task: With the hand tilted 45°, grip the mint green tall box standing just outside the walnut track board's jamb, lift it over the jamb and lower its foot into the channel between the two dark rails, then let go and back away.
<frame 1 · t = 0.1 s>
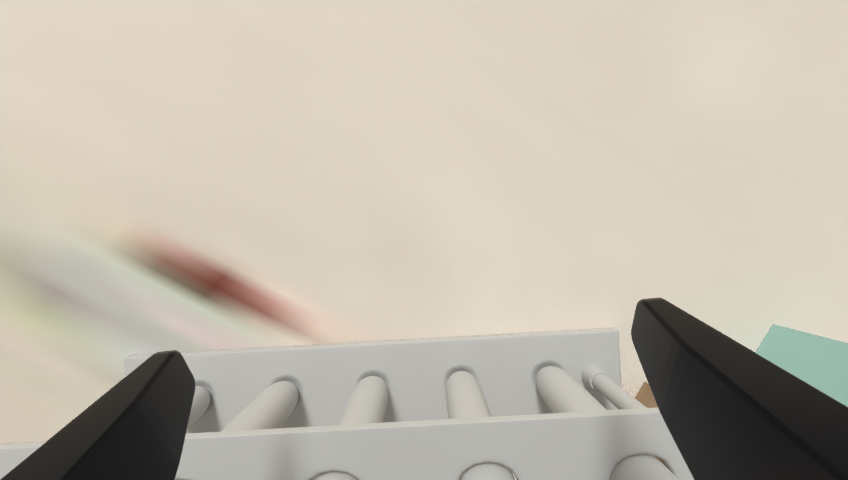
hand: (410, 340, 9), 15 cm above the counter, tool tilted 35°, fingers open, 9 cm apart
mint green tall box: (777, 382, 24), on the counter
test tube rack: (375, 381, 25), on the counter
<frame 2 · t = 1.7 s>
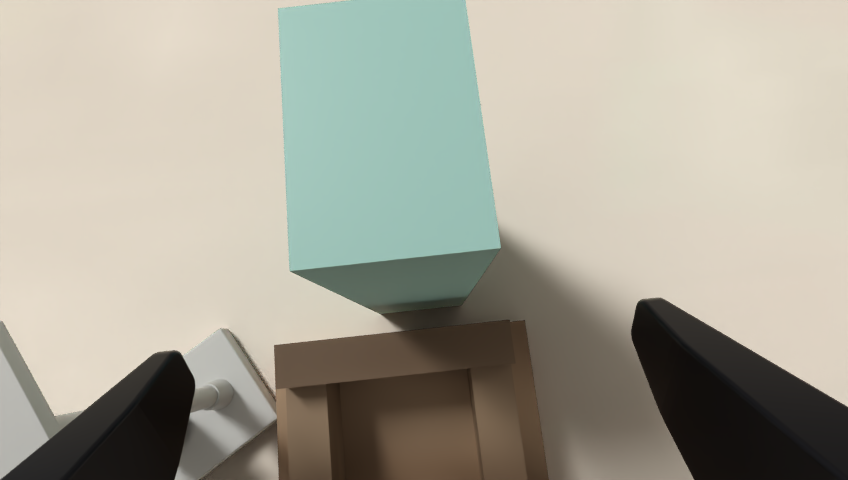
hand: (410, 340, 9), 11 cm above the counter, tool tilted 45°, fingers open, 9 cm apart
mint green tall box: (414, 252, 20), on the counter
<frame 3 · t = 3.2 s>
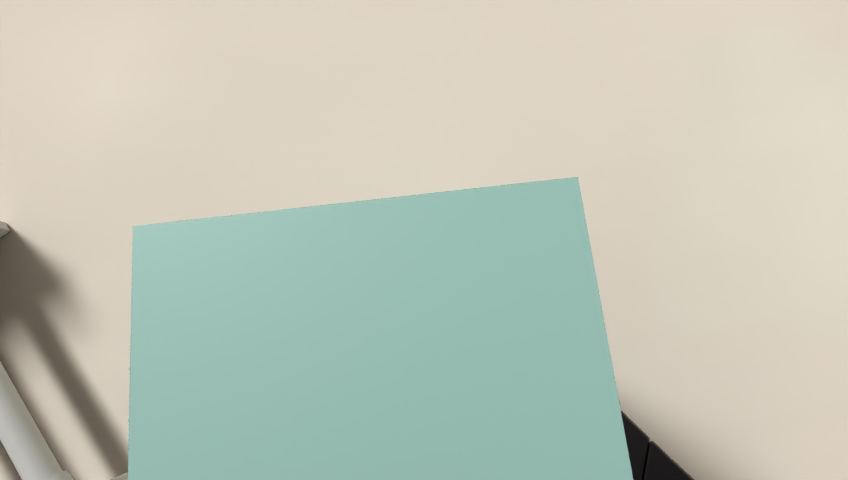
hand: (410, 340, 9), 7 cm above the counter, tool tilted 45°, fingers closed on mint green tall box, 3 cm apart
mint green tall box: (425, 381, 15), on the counter, touching gripper
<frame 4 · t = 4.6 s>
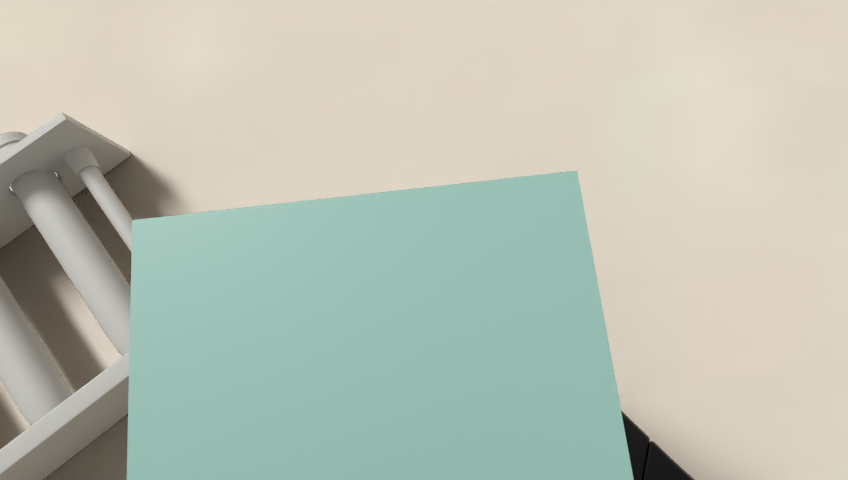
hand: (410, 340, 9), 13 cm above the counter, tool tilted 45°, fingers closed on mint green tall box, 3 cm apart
mint green tall box: (425, 379, 15), point 6 cm above the counter, touching gripper
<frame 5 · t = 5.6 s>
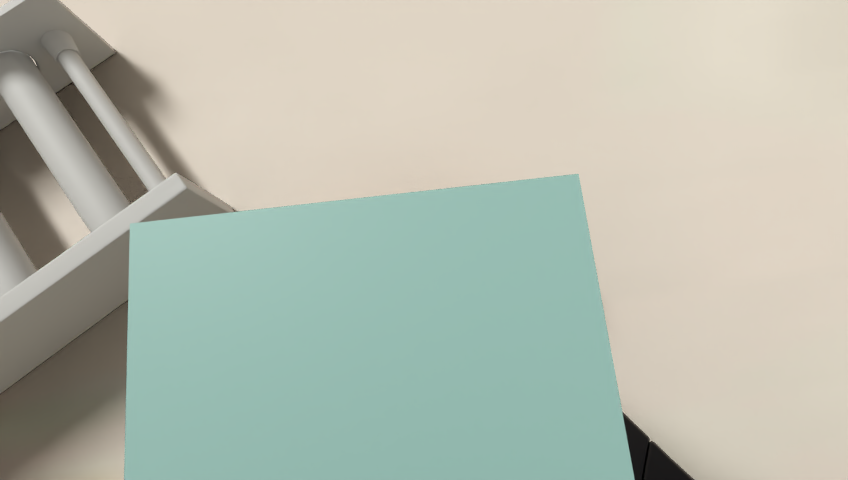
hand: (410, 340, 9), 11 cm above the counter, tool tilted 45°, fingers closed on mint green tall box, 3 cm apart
mint green tall box: (425, 380, 15), point 4 cm above the counter, touching gripper
when the fingers open (9 cm above the counter, at t = 6.2 s): mint green tall box drops 1 cm, resting on track board.
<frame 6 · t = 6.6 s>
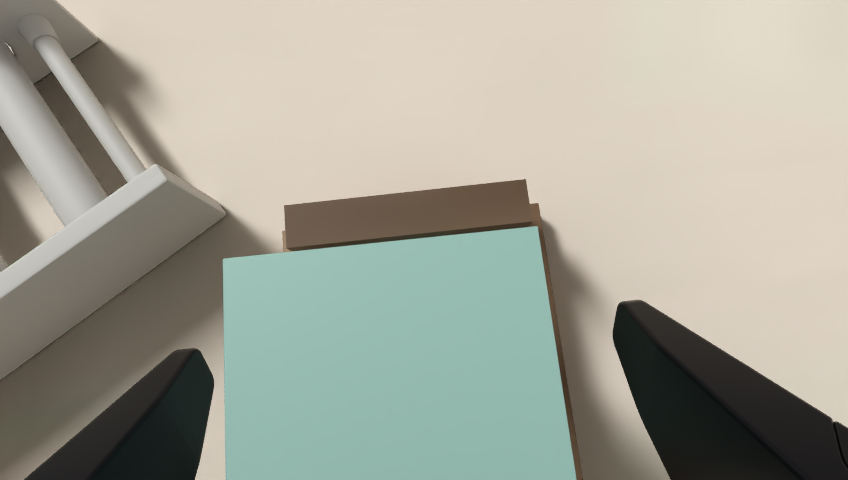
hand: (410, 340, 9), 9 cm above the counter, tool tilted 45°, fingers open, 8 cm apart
mint green tall box: (426, 376, 17), point 1 cm above the counter, touching track board
track board: (427, 373, 18), on the counter
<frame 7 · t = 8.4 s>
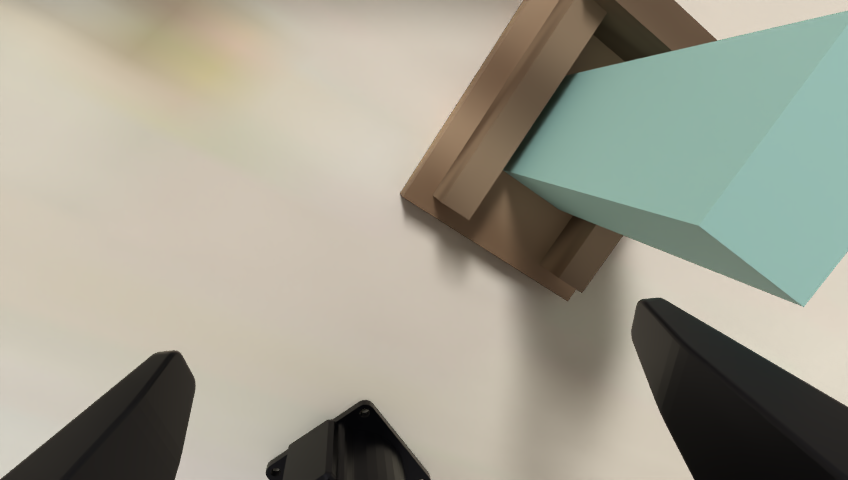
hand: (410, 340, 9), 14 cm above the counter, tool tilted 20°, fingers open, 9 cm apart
mint green tall box: (562, 144, 22), point 1 cm above the counter, touching track board
track board: (551, 144, 23), on the counter
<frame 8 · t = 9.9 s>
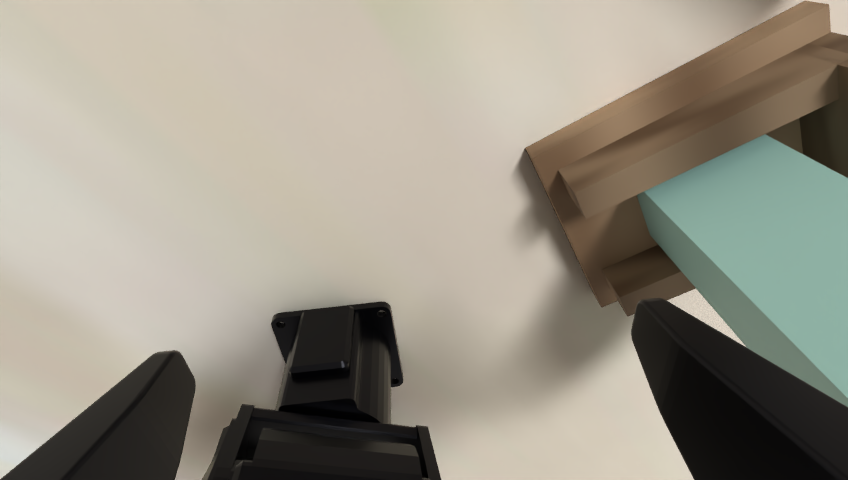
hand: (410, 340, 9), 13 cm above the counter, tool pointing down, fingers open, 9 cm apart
mint green tall box: (694, 183, 21), point 1 cm above the counter, touching track board
track board: (680, 172, 22), on the counter
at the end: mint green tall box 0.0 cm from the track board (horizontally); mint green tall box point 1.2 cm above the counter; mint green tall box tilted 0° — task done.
